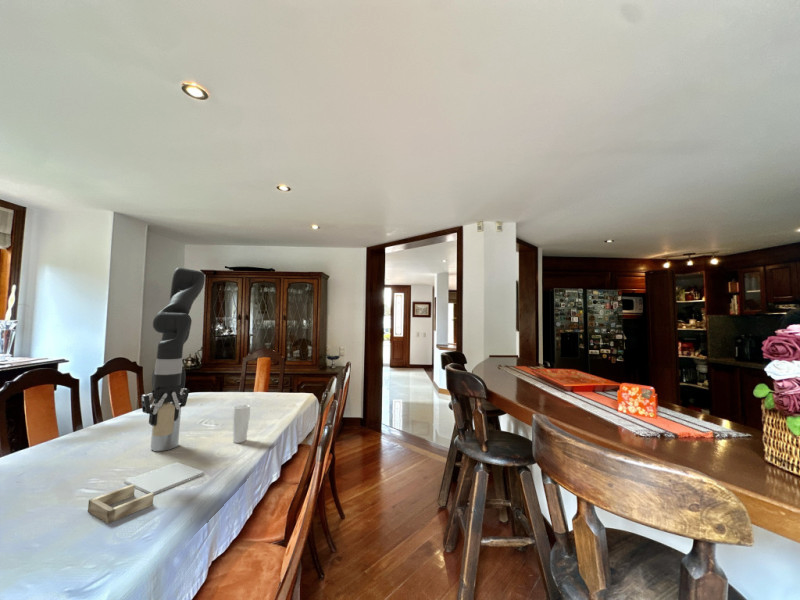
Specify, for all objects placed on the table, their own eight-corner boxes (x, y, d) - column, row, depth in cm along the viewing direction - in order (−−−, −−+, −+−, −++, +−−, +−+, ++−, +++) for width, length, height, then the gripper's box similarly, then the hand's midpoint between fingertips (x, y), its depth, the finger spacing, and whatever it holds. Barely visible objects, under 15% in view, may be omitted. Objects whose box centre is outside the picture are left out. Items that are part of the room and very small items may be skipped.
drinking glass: (241, 444, 139) (243, 409, 140) (227, 443, 140) (230, 408, 142) (251, 439, 146) (253, 405, 147) (238, 438, 147) (240, 404, 148)
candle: (159, 430, 110) (162, 400, 110) (176, 430, 110) (179, 401, 111) (148, 436, 104) (151, 404, 105) (165, 436, 105) (168, 405, 105)
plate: (124, 482, 104) (124, 480, 104) (176, 464, 118) (176, 462, 119) (151, 495, 97) (151, 492, 97) (203, 474, 111) (204, 471, 111)
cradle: (108, 523, 83) (109, 511, 83) (87, 511, 88) (88, 499, 89) (152, 504, 92) (153, 493, 93) (131, 494, 97) (132, 484, 98)
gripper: (184, 368, 117) (180, 415, 115) (137, 373, 104) (132, 426, 103) (196, 370, 113) (192, 419, 112) (149, 375, 100) (144, 431, 99)
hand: (163, 422), depth 107 cm, fingers closed on candle, 5 cm apart
